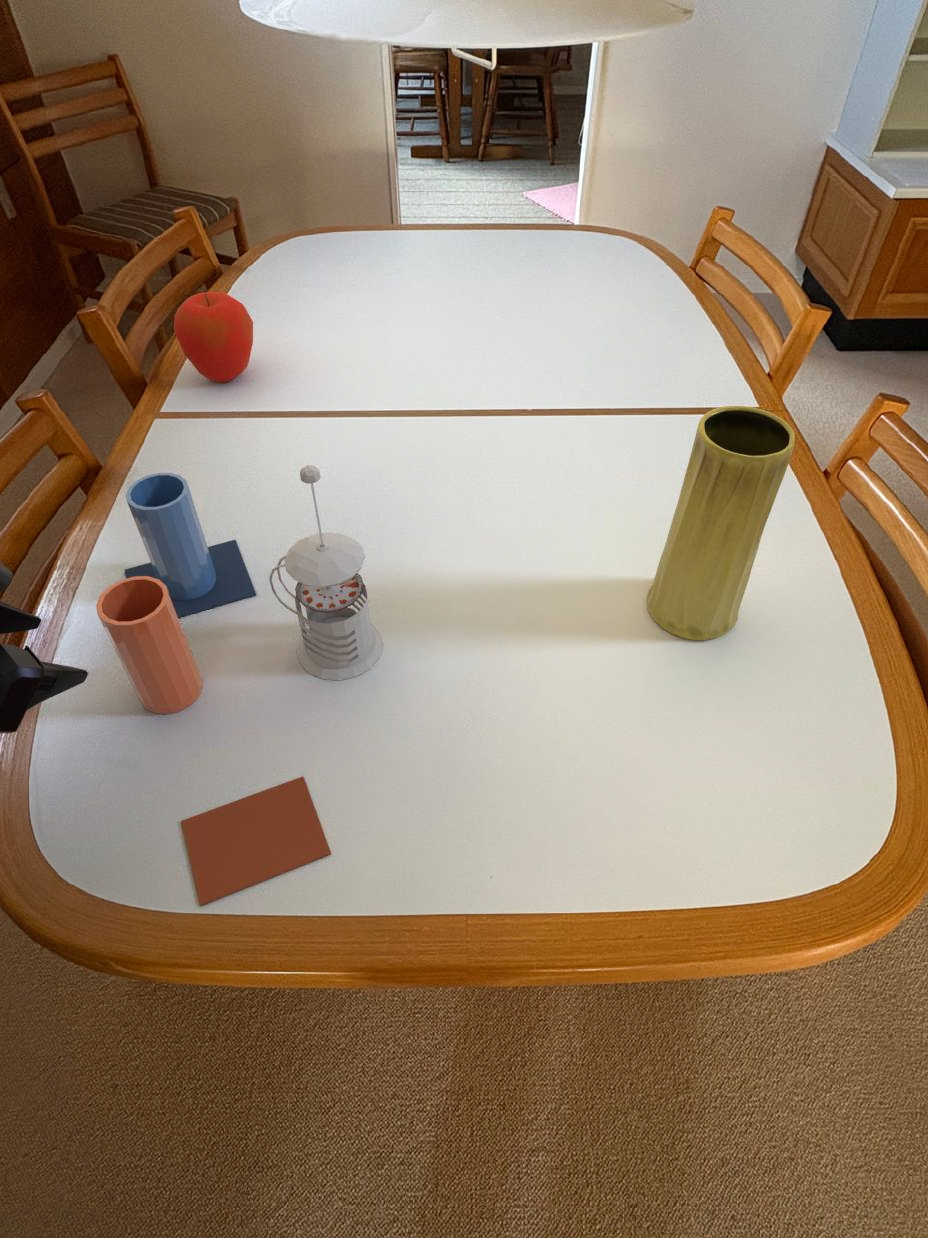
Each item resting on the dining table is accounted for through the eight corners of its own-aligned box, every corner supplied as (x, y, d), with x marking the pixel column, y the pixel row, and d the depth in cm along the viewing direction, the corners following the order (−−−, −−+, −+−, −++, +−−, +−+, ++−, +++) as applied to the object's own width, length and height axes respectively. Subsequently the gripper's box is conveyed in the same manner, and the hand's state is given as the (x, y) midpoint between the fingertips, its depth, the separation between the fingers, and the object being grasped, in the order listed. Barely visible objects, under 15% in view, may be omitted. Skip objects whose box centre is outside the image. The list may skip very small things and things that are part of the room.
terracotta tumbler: (145, 722, 83) (100, 633, 72) (135, 677, 87) (92, 587, 76) (208, 702, 84) (173, 612, 74) (196, 659, 89) (161, 568, 78)
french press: (362, 690, 86) (335, 510, 67) (266, 664, 88) (215, 484, 70) (395, 627, 92) (379, 447, 74) (306, 604, 94) (268, 425, 76)
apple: (270, 387, 128) (253, 302, 118) (195, 402, 125) (172, 316, 115) (253, 351, 136) (236, 269, 125) (183, 365, 133) (160, 282, 122)
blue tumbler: (166, 607, 94) (130, 516, 84) (157, 572, 98) (121, 481, 88) (221, 591, 96) (193, 500, 85) (210, 557, 100) (181, 466, 89)
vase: (755, 614, 93) (827, 436, 75) (695, 656, 89) (755, 477, 71) (687, 565, 99) (738, 388, 81) (627, 602, 95) (667, 424, 76)
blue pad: (138, 630, 92) (137, 628, 91) (124, 570, 98) (124, 569, 98) (256, 595, 95) (256, 594, 95) (235, 540, 102) (235, 539, 102)
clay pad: (200, 906, 69) (200, 905, 69) (181, 821, 75) (181, 820, 75) (331, 854, 73) (331, 853, 72) (303, 777, 78) (303, 776, 78)
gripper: (-42, 604, 53) (151, 627, 67) (-137, 484, 62) (50, 526, 75) (-103, 739, 55) (97, 735, 68) (-187, 604, 64) (5, 624, 77)
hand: (61, 649), depth 72 cm, fingers open, 9 cm apart
